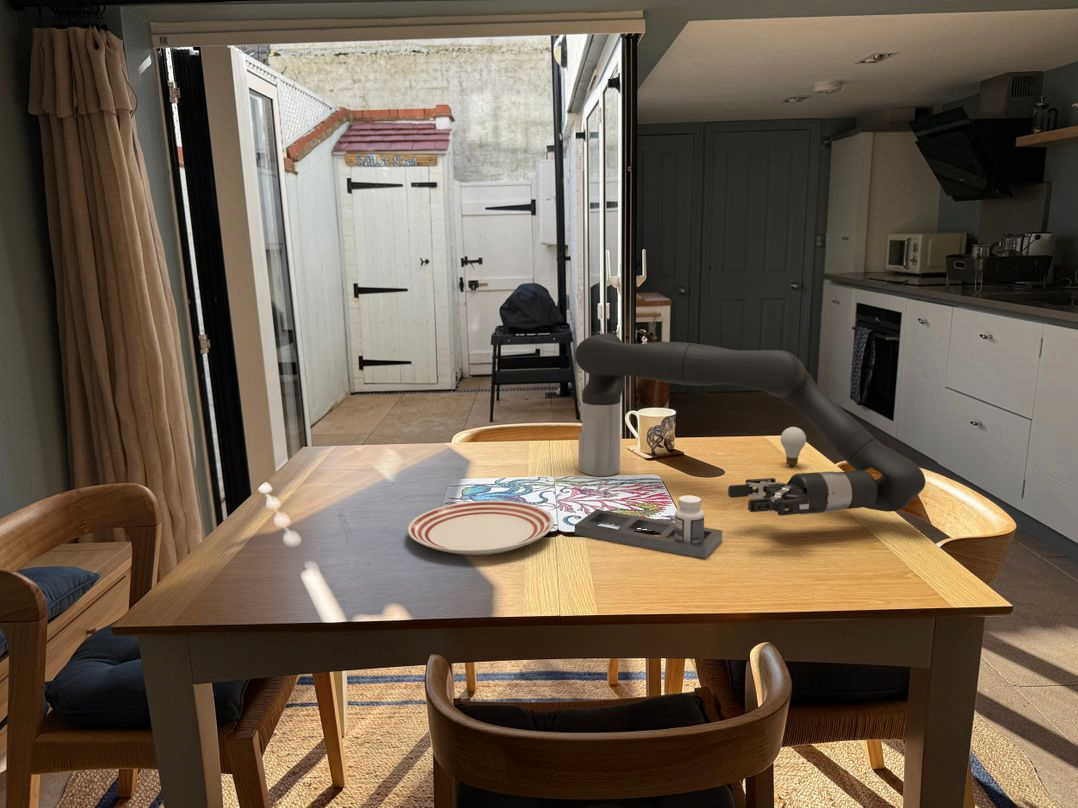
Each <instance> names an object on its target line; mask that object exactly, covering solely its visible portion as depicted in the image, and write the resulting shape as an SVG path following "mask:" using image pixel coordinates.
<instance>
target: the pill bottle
mask: <svg viewBox="0 0 1078 808" xmlns="http://www.w3.org/2000/svg"><path fill="white" fill-rule="evenodd" d="M677 505H678V508H677V509H676V510H675V512H674V522H675V539H676V540H682V541H687V542H693V543H699V544H701V543H702V542H703V541H704V527H705V512H704V510H702V509H701V507H702V506H701V505H702V499H701V497H698V496H695V495H682V496H681V495H680V497H678V504H677Z"/></svg>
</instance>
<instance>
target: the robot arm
mask: <svg viewBox="0 0 1078 808" xmlns="http://www.w3.org/2000/svg"><path fill="white" fill-rule="evenodd" d="M574 359H575V362H576V364H577V366H578V367H579V368H580V369H581V370H582V371H583V372H585V373H587V374H588V375H589V378H588V381H587V383H586V385H585V387H584V388H583V390H582V393H581V432H579V433H578V472H581V473H583V474H586V475H589V476H596V477H608V476H615V475H617V474H619V473H620V472H621V422H622V421H621V419H622V418H621V413H622V412H621V407H622V405H621V404H622V402H621V401H622V400H621V399H622V394H623V392H624V387H625V378H626V377H627V376H629V377H636V378H641V379H644V380H649V381H651V380H652V381H656V382H664V383H669V384H674V385H675V384H677V385H683V386H697V387H698V386H699V387H700V386H702V387H704V386H715V385H716V386H717V385H733V386H741V387H746V388H749V389H755V390H759V391H762V392H766V393H767V394H769V395H771V396H773V397H776V398H778V399H781V400H782V401H783V402H785V403H786V404H788V405H789V406H790V407H792V408H794V410H796V411H797V412H799V413H800V414H801V415H802V416H803V417H804V418H805V419H806V420H807V421H808V422H809V423H810V424H811V425H812V426H813V427H814V428H815V429H816V431H817V432H818V433H819V435H820V436H821V437H822V438H823V439H824V440H825V441H826V443H827V444H828V445H829V447H831V448H832V449H833V450H834V451H835V452H836V453H837V454H838V455H839V456H840V457H841V458H842V459H843V460H844V461H846V463H847V464H848V465H849V466H850V467H852V468H853V469H854V470H850V471H849V470H848V471H818V472H803V473H794V474H793V475H792V476H790V478H789V480H788V482H787V483H785V482H783V481H776V478H774V477H771V478H770V477H768V478H751V479H750V478H748V479H746V480H745V484H733V485H732V484H731V485H729V486H728V488H727V489H728V490H727V496H728V497H729V498H731V499H734V498H745V497H749V498H750V497H752V499H751V498H750V499H749V500H748V501H747V503H748V504H747V509H748V511H749V512H750V513H760V512H769V513H773V514H774V513H777V516H779V517H781V516H782V517H784V516H790V515H808V514H821V513H832V512H837V511H842V510H851V509H862V508H864V509H869V510H874V511H879V512H888V513H889V512H896V511H901V510H903V509H905V508H906V507H907V506H909V505H910V503H911V502H912V501H914V499H915V498H917V496H918V495H919V494H920V493H921V492H922V491H923V490H924V488H925V487H926V476H925V474H924V471H922V469H921V468H920V466H918V464H916V463H915V462H914V461H912V460H911V459H910V458H908V457H906V456H904V455H902V454H900V453H898V452H897V451H895V450H893V449H892V448H890V447H887V445H884V444H882V443H881V442H880V441H879V440H878V439H877V438H876V437H875V436H873V434H871V432H869V431H868V430H867V429H866V428H865V427H864V426H863V425H862V424H860V423H859V422H858V421H857V420H856V419H855V418H853V417H852V416H851V415H850V414H849V413H848V412H846V411H845V410H844V409H843V408H842V407H840V406H839V405H838V404H836V403H835V402H834V401H833V400H832V399H831V398H830V397H829V396H828V395H827V394H826V393H825V392H824V391H823V389H821V387H820V386H819V385H818V384H817V382H816V381H815V380H814V378H813V376H812V375H811V374H810V373H809V372H808V370H807V369H806V368H805V365H804V363H803V362H802V361H801V360H800V359H799V358H798V357H796V355H794V354H792V353H791V352H789V351H787V350H780V349H763V350H762V349H760V350H759V349H758V350H754V349H752V350H745V349H744V350H741V349H739V350H738V349H730V348H725V347H720V346H715V345H708V344H702V343H701V344H700V343H691V342H680V341H657V342H656V341H655V342H646V343H645V342H643V343H626V342H623V341H622V340H621V338H620V337H619V336H617V335H615V334H614V333H609V332H607V333H600V334H596V335H591V336H589V337H586V338H584V339H583V340H582V341H581V342H580V343H579V344H578V345H577V347H576V349H575V352H574ZM870 469H873V470H875V471H877V472H879V473H880V474H882V475H880V477H879V478H877V479H875V477H874V475H872V474H871V473H870V472H869V471H868V470H870ZM764 493H765V495H764Z"/></svg>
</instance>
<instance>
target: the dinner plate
mask: <svg viewBox="0 0 1078 808" xmlns="http://www.w3.org/2000/svg"><path fill="white" fill-rule="evenodd" d="M554 523H555V520H554V518H553V516H552V515H551V513H549V512H548V511H546V510H545V509H544V508H541V507H538V506H535V505H532V504H530V503H529V504H528V503H523V502H519V501H518V502H517V501H509V500H476V501H475V500H474V501H467V502H466V501H465V502H459V503H452V504H448V505H444V506H443V505H442V506H440V507H437V508H434V509H431V510H429V511H426V512H424V513H422V514H420V515H418V516H417V517H415V518H414V519H413V520H411V522H410V523H409V524H408V527H407V534H408V535H409V538H411V539H412V540H413V541H415V542H417V543H419V544H421V545H423V546H425V547H428V548H431V549H433V550H435V551H436V550H437V551H441V552H445V553H449V554H450V553H451V554H458V555H466V556H488V555H496V554H500V553H501V554H502V553H506V552H509V551H513V550H516V549H519V548H522V547H525V546H527V545H530V544H532V543H534V542H537V541H538V540H540V539H542V538H543V537H545V536H546V535H547V534H549V532H550V531H551V530H552V529H553V527H554Z"/></svg>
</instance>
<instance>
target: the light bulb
mask: <svg viewBox="0 0 1078 808" xmlns="http://www.w3.org/2000/svg"><path fill="white" fill-rule="evenodd" d="M780 442H781V446H782V447H783V449H784V451H785V456H786V457H785V460H786V465H788V467H790V468H794V467H796V466H797V465H798V461H799V456H800V454H801V450H802V449H803V448H804V447H805V445H806V442H807V435H806V433H805V432H804V431H803V430H802V429H801V428H799V427H796V426H790V427H788V428H786V429H784V430H783V432H781V435H780Z"/></svg>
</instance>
